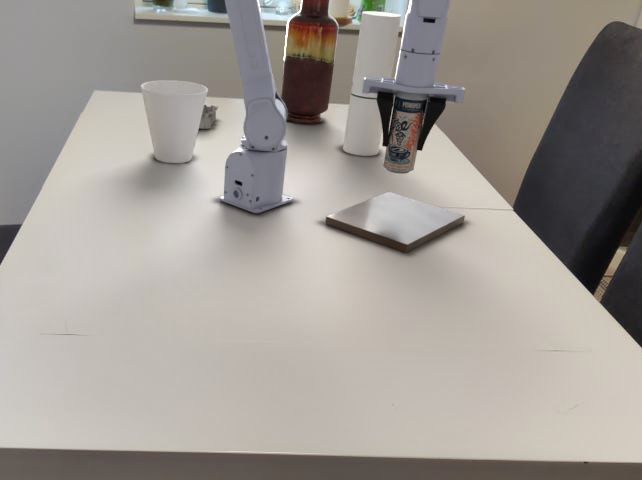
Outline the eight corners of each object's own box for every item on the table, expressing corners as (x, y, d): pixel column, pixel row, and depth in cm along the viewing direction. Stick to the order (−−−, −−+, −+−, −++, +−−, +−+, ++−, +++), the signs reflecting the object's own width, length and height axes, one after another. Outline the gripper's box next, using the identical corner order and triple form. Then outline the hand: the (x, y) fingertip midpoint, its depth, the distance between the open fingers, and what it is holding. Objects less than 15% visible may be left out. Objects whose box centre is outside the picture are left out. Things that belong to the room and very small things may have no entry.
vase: (272, 113, 165) (282, -13, 151) (315, 112, 168) (330, -11, 154) (288, 125, 156) (301, -7, 142) (334, 124, 160) (351, -5, 146)
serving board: (405, 252, 100) (407, 244, 99) (325, 223, 107) (326, 216, 106) (463, 222, 111) (465, 215, 111) (387, 198, 119) (388, 191, 118)
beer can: (378, 170, 109) (392, 88, 102) (387, 163, 112) (401, 84, 106) (408, 176, 107) (424, 94, 101) (416, 169, 111) (432, 89, 104)
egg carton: (186, 116, 158) (187, 96, 156) (219, 119, 157) (220, 100, 155) (174, 127, 149) (175, 106, 147) (209, 130, 148) (210, 110, 146)
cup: (162, 170, 124) (162, 96, 117) (129, 152, 131) (128, 82, 125) (218, 162, 130) (221, 91, 123) (183, 145, 138) (184, 78, 131)
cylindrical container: (377, 147, 146) (399, 13, 132) (379, 157, 140) (403, 17, 126) (342, 144, 146) (361, 10, 133) (343, 153, 140) (363, 14, 127)
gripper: (469, 51, 103) (449, 145, 110) (369, 42, 105) (356, 134, 112) (474, 59, 97) (452, 157, 104) (368, 48, 99) (353, 146, 106)
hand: (402, 146), depth 108 cm, fingers closed on beer can, 5 cm apart
